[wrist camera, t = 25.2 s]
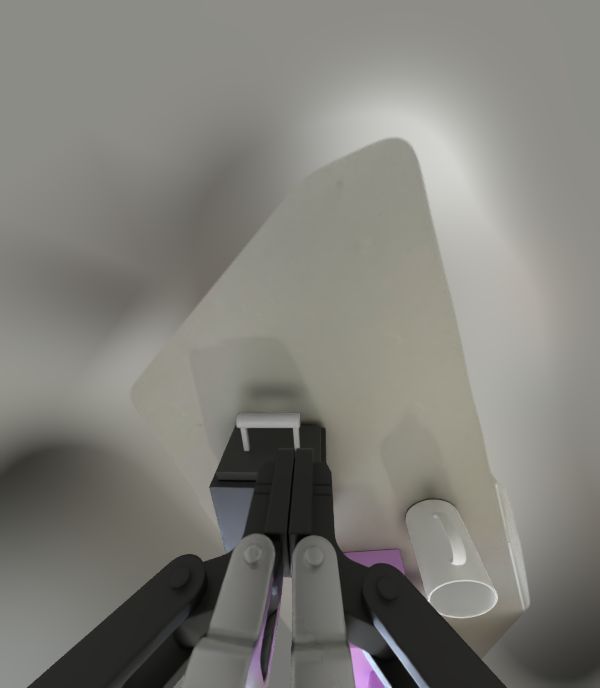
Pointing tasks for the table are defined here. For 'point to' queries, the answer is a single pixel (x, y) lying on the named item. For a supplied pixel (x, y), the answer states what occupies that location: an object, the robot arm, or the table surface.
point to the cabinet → (238, 504)
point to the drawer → (264, 443)
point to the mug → (449, 561)
